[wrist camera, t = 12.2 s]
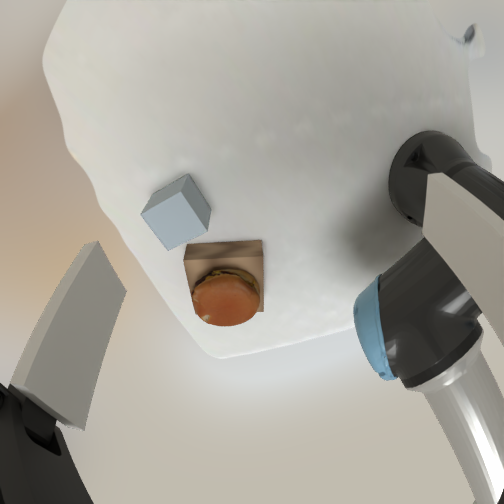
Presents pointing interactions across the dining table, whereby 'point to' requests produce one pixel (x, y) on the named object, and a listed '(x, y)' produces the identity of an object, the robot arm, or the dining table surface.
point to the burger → (226, 297)
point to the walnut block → (225, 261)
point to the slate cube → (177, 213)
